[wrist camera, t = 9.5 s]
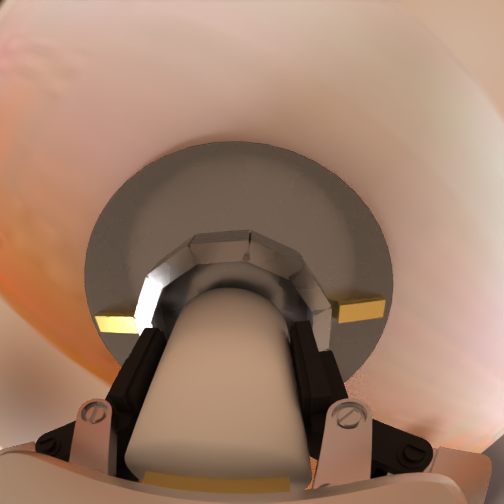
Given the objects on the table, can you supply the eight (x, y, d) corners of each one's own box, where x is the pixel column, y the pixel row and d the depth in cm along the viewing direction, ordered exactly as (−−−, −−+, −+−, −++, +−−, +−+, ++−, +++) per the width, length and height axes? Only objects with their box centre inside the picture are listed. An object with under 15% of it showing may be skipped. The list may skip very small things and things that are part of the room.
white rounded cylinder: (165, 290, 11) (85, 440, 4) (287, 283, 11) (325, 454, 4) (188, 377, 13) (157, 510, 6) (288, 373, 13) (306, 515, 6)
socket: (139, 402, 17) (129, 427, 15) (67, 172, 12) (37, 178, 9) (363, 393, 17) (373, 419, 14) (390, 139, 11) (418, 138, 9)
